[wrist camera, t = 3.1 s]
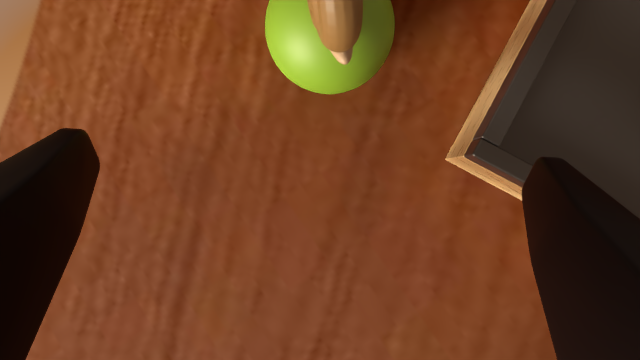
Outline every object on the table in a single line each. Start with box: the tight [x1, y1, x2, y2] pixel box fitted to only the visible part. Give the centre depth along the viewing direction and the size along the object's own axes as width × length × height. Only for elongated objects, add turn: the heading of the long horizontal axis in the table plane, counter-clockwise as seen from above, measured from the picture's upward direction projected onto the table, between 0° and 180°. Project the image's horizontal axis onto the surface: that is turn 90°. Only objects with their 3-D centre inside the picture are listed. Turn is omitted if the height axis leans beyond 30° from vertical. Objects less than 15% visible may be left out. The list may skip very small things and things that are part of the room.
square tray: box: [446, 0, 640, 219], centre depth 19 cm, size 12×12×4 cm
